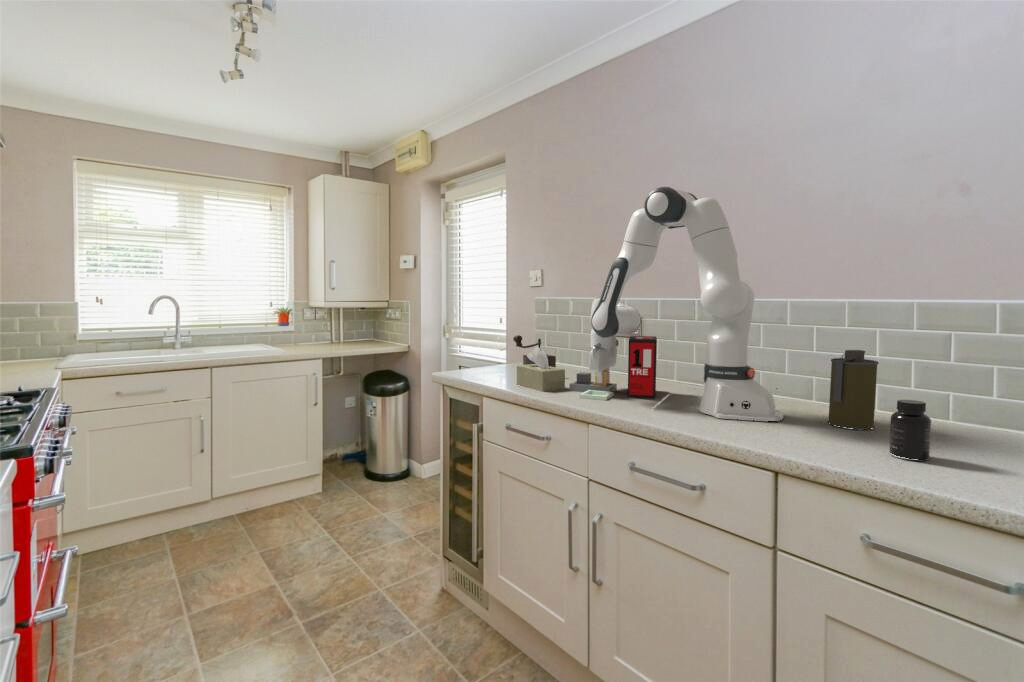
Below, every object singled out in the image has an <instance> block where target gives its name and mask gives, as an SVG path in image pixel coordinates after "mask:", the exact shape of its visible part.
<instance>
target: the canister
mask: <svg viewBox="0 0 1024 682" xmlns="http://www.w3.org/2000/svg"><path fill="white" fill-rule="evenodd" d="M865 353H866V350H861V349H845V350H844V353H843V355H842V356H841V357H837V358H835V357H834V358H831V359H830V361H831V368H830V369H831V370H830V385H829V388H830V389H829V401H828V402H829V403H828V404H829V406H828V420H827V424H828V423H830V424H832V425H836V426H840V427H846V428H853V429H871V428H874V427H875V413H876V412H875V409H876V393H877V392H876V391H877V377H878V365H879V363H880V362H879V361H877V360H874V359H865ZM830 424H829V425H830ZM832 425H831V426H832ZM875 428H876V427H875ZM875 428H874V429H875Z"/></svg>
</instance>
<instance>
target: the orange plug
mask: <svg viewBox="0 0 1024 682" xmlns="http://www.w3.org/2000/svg"><path fill="white" fill-rule="evenodd" d="M610 371H611V370H609V371H604V370H603V373H602V375H603V382H602V383H598V382H597V376H596V372H594V377H595V378H594V380H595V381H594V382H595V385H596V386H610V383H611V381H610V380H611V379H610V375H611V374H610V373H611V372H610Z"/></svg>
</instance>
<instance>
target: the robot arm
mask: <svg viewBox="0 0 1024 682" xmlns="http://www.w3.org/2000/svg"><path fill="white" fill-rule="evenodd" d="M643 206H644V207H643V208H639V209H636V210H635V211H634V212H633V213H632V215H631V216H630V220H629V222H628V225H627V227H626V230H625V235H624V237H623V238H624V239H623V242H622V246H621V249H620V252H619V254H618V256H617V258H616V259H615V260H614V261H613V263H612V265H611V266H610V269H609V272H608V275H607V278H606V280H605V283H604V286H603V290H602V293H601V294H600V295H601V296H599V297H596V298H595V299H594V300H593V301H592V303H591V308H590V325H591V330H590V348H592V349H591V350H590V352H589V360H588V361H589V362H588V370H589V373H591V372H592V373H595V372H596V376H597V382H598V383H602V382H603V375H602V373H603V370H604V371H611V370H610V369H611V368H612V367H615V366H616V364H617V357H618V346H619V340H618V339H617V336H624V335H631V334H634V333H636V332H638V330H639V328H640V326H641V322H642V321H641V320H642V319H641V314H640V312H639V311H638V309H636V308H635V307H632V306H629V305H626V304H624V303H622V302H620V300H621V297H622V294H623V291H624V288H625V286H626V284H627V282H628V281H629V280H630V279H632V278H633V277H634V276H635V275H637V274H639V273H642V272H644V271H646V270H647V269H649V268H650V267H651V266H652V265H653V263H654V262H655V259H656V256H657V252H658V249H659V244H660V239H661V236H662V233H663V232H664V230H666V229H670V230H671V229H677V228H684V227H685V228H686V230H687V233H688V236H689V240H690V243H691V247H692V250H693V254H694V257H695V260H696V264H697V270H698V278H699V279H698V280H699V287H700V288H699V289H700V305H701V306H702V308H703V309H704V311H705V312H707V314H709V315H710V316H712V317H711V323H710V327H709V331H708V333H707V336H706V353H705V354H706V358H705V364H704V368H703V382H704V385H703V393H702V398H701V401H700V405H699V407H698V411H699V412H701V413H703V414H705V415H706V414H707V415H709V416H712V417H715V418H717V419H723V420H737V419H738V420H740V421H753V420H754V421H755V422H768V421H778V422H780V420H781V421H783V420H782V419H784V412H783V411H781V410H779V409H777V408H776V402H775V398H774V396H773V394H772V392H770V390H768V389H767V388H766V387H765V386H763V385H762V384H760V383H759V382H758V381H757V380H756V379H754V378H755V375H756V370H755V369H754V368H753V367H751V366H749V365H748V363H747V362H748V348H749V347H748V343H749V342H748V341H749V333H750V328H751V325H752V324H751V322H752V317H753V310H754V309H753V308H754V302H755V293H754V290H753V289H752V287H751V286H750V285H749V284H748V283H747V282H745V281H743V280H741V278H740V272H739V264H738V253H737V248H736V246H735V242H734V238H733V236H732V232H731V229H730V226H729V222H728V220H727V217H726V215H725V213H724V210H723V209H722V207H721V205H720V203H719V202H718V200H716V199H715V198H712V197H702V198H698V197H697V196H696V195H694V194H693V193H690V192H687V191H685V190H683V189H680V188H677V187H676V188H675V187H670V186H660V187H656V188H654V189H653V190H650V192H649V194H647V196H646V197H645V200H644V205H643Z"/></svg>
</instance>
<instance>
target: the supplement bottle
mask: <svg viewBox="0 0 1024 682" xmlns="http://www.w3.org/2000/svg"><path fill="white" fill-rule="evenodd" d="M926 405H927V403H926V402H925V401H922V400H914V399H898V400H897V401H896V410H897V411H895V412H894V413H892V414H891V416H890V423H889V424H890V428H889V429H890V430H889V445H888V446H889V454H890V453H892V454H894V455H896V456H900V457H905V458H909V459H918V460H926V459H928V460H929V459H930V456H931V455H930V454H931V453H930V452H931V433H932V419H931V418H930V417H929V416H928V415H927V414H925V413H926V412H927V408H926ZM926 461H927V460H926Z"/></svg>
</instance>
